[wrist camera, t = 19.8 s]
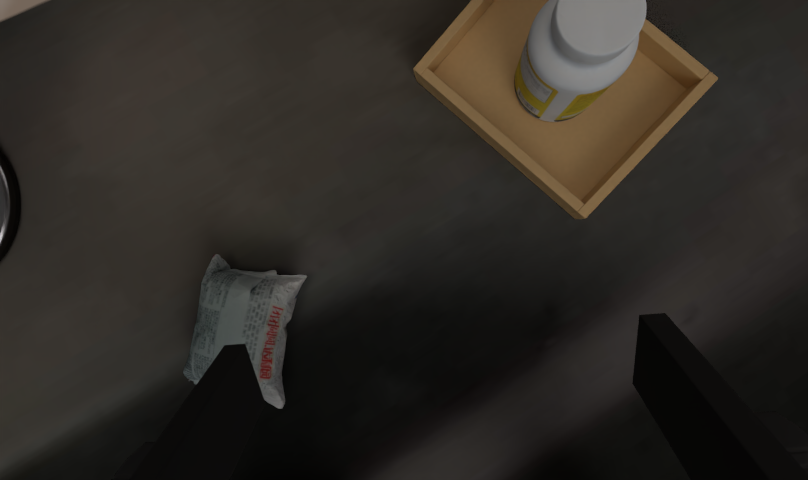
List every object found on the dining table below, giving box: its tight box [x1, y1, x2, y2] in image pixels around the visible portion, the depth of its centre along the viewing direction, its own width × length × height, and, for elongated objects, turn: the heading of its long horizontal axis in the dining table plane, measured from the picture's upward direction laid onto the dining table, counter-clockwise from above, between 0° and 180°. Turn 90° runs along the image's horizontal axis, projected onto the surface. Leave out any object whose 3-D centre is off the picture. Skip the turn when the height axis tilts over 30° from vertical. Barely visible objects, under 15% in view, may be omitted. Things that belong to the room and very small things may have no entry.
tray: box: [413, 0, 718, 219], centre depth 34 cm, size 18×14×3 cm
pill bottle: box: [514, 0, 647, 122], centre depth 29 cm, size 6×6×12 cm
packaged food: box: [183, 254, 307, 409], centre depth 36 cm, size 9×12×5 cm
